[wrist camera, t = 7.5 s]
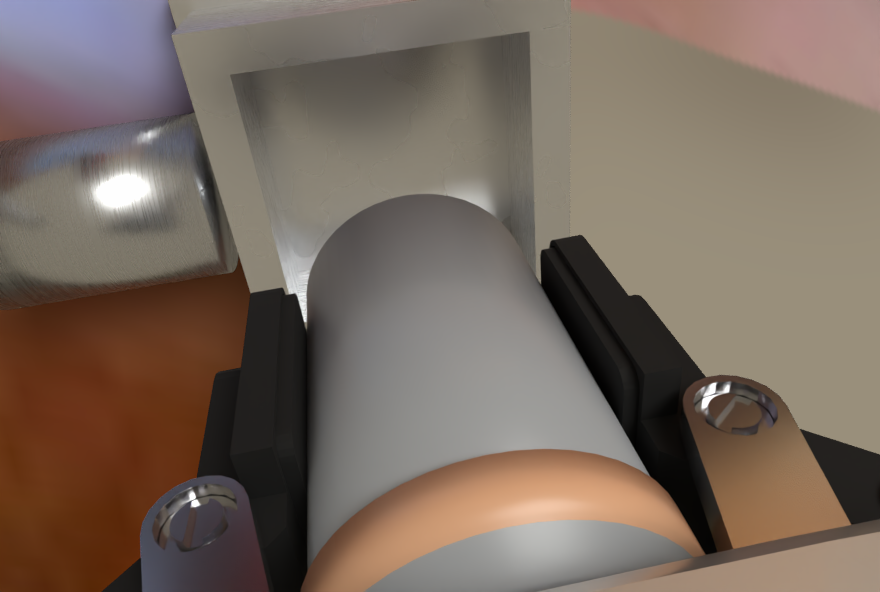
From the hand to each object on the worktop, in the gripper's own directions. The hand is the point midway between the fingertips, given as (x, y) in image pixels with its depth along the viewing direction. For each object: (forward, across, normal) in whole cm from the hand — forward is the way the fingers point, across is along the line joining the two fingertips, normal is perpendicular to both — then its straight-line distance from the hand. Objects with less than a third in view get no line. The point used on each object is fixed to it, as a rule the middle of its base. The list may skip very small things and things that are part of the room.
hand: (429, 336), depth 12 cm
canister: (+1, 0, 0) cm, 1 cm away
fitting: (+10, +3, 0) cm, 11 cm away
